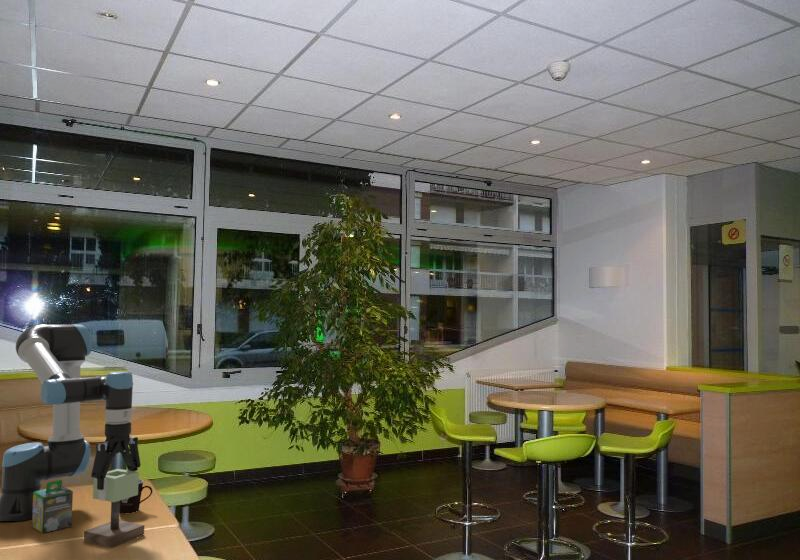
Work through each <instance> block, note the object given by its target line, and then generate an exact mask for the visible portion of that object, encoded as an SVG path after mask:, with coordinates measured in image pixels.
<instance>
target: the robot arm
mask: <svg viewBox="0 0 800 560" xmlns="http://www.w3.org/2000/svg"><path fill="white" fill-rule="evenodd" d="M15 342H16V343H15V352H16V354H17V355H18V357H19V359H20V360H21V361H23V362H24V363H27V364H28V365H29V367H30V368H31V370H32V371H33V373H34V374H35V376H36V377H37V378H38V380H39V381H40V383H41V387H40V398H41V401H42V403H44V404H45V405H52V435H50V437H49V438H48V439H47V445H44V444H43V443H42V442H38V441H36V442H27V443H24V444H23V443H22V444H18V445H15V446H12V447H10V448H8V449H6V451H4V453H3V458H2V463H1V466H2V473H1V494H0V521H17V522H23V521H29V520H32V515H33V492H35V491H40V490H42V483H43V481H47V480H48V481H49V480H54V479H55V480H56V479H60V478H67V477H68V478H69V477H73V476H77V475H81V474H83V473H84V472H85V471H86V469H87V468H88V466H89V463H90V461H91V453H92V452H91V451H92V450H91V448H90V447H91V445H90V443H89V441H87V440H85V436H84V435H83V434H82V433H81V431H80V430H81V429H80V428H81V427H80V425H81V423H80V422H81V419H80V417H81V416H80V415H81V414H80V413H81V403H83V402H84V403H85V402H97V401H105V411H104V412H105V414H104V422H105V424H104V436H105V440H104V442H102V443H98V442H97V443H96V445H95V447H96V453H95V458H94V460H93V461H94V463H93V467H92V470H91V474H90V475H91V476H90V477H91V478H93V479H94V478H97V489H98V490H99V496H98V499H97V500H98V501H103V502H107V501H106V500H107V478H105V477H106V474H107V472H108V471H109V469H110V467H111V464H112V462H113V459H114V457H116V455H117V454H119V453H120V454H121V456H122V459H123V461H124V464H125V466H126V470H129V471H135V472H138V471H139V468H140V467H141V465H142V464H141V459H140V453H139V452H140V451H139V447H138V446H139V445H138V443H139V437H137V436H130V435H131V433H132V422H131V421H132V418H133V417H132V414H133V413H132V411H133V406H132V405H133V390H134V389H133V386H134V381H133V373H132V372H130V371H111V372H108V373H107V374H104V375H97V376H90V377H81V366H82V365H83V364H84V363H85V361H86V357H87V356H89V355H91V352H92V349H93V340H92V337H91V333H90V331H89V329H88V327H86V326H85V325H83V324H76V323H74V324H73V323H70V324H69V323H67V324H66V323H65V324H62V323H61V324H58V323H57V324H53V323H52V324H37V325H36V324H35V325H32V326H30V327H29V328H27V329H25V330H24V331H22V332H21V334H20V335H19V336H18V338H17V340H16V341H15ZM101 474H102V475H101Z"/></svg>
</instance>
